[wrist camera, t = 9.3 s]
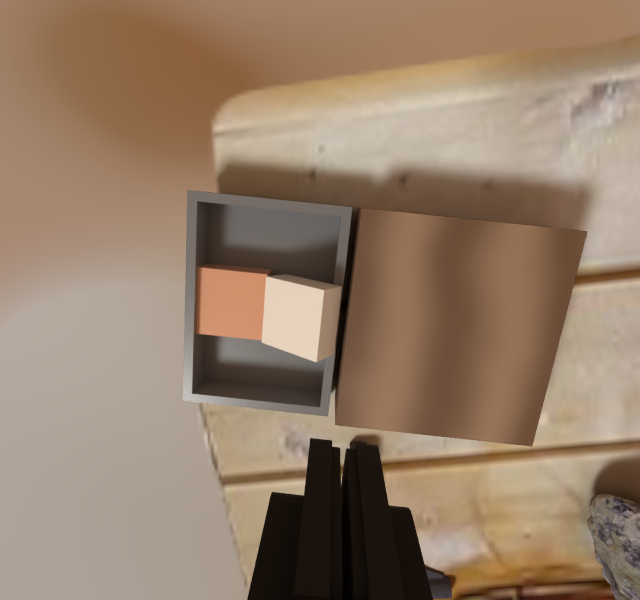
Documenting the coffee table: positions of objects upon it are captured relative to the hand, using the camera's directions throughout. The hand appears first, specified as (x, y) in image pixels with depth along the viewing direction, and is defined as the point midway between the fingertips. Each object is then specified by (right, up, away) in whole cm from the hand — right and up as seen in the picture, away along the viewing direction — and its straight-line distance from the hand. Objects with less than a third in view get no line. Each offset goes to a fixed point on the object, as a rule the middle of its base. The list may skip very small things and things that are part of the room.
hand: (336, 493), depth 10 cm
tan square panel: (+8, +4, +18) cm, 20 cm away
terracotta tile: (-6, +4, +16) cm, 18 cm away
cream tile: (-1, +4, +16) cm, 17 cm away
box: (-4, +5, +18) cm, 19 cm away
